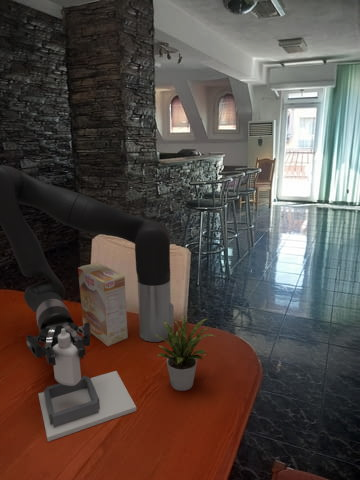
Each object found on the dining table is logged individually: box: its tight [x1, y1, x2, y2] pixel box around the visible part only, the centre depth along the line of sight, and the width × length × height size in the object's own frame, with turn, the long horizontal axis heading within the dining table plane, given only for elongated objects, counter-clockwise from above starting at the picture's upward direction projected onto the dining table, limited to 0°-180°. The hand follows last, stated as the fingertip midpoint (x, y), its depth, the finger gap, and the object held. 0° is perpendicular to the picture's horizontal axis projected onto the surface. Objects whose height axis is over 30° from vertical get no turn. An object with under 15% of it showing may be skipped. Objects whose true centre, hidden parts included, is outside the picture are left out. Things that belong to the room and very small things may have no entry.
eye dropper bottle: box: [53, 328, 82, 386], centre depth 76 cm, size 4×6×12 cm
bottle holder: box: [38, 370, 137, 442], centre depth 80 cm, size 18×14×4 cm
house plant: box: [151, 313, 216, 392], centre depth 85 cm, size 14×14×16 cm
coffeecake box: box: [77, 262, 129, 347], centre depth 107 cm, size 15×7×20 cm, turn 41°
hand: (67, 357), depth 73 cm, fingers closed on eye dropper bottle, 4 cm apart
